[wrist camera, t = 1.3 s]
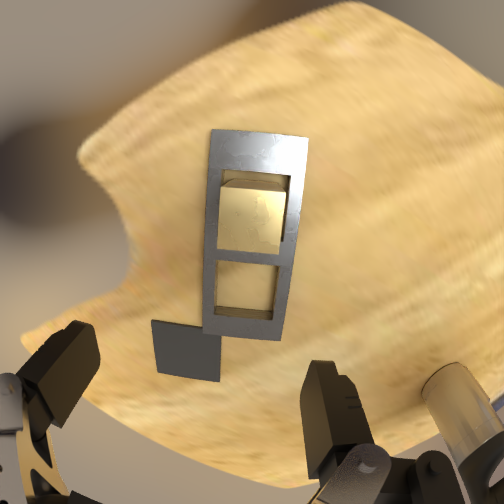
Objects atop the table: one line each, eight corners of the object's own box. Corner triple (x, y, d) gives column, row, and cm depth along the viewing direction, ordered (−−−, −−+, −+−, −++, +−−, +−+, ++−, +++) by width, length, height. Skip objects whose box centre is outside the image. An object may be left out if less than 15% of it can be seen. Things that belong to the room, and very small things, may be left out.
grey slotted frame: (305, 139, 26) (308, 138, 24) (279, 331, 33) (280, 341, 31) (215, 131, 26) (211, 129, 24) (205, 324, 33) (202, 333, 31)
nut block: (278, 182, 27) (285, 192, 19) (273, 226, 29) (278, 254, 20) (233, 178, 28) (220, 186, 19) (230, 222, 29) (216, 248, 20)
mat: (221, 329, 33) (221, 331, 33) (219, 380, 36) (219, 382, 36) (152, 319, 33) (150, 321, 33) (158, 370, 36) (157, 372, 36)
